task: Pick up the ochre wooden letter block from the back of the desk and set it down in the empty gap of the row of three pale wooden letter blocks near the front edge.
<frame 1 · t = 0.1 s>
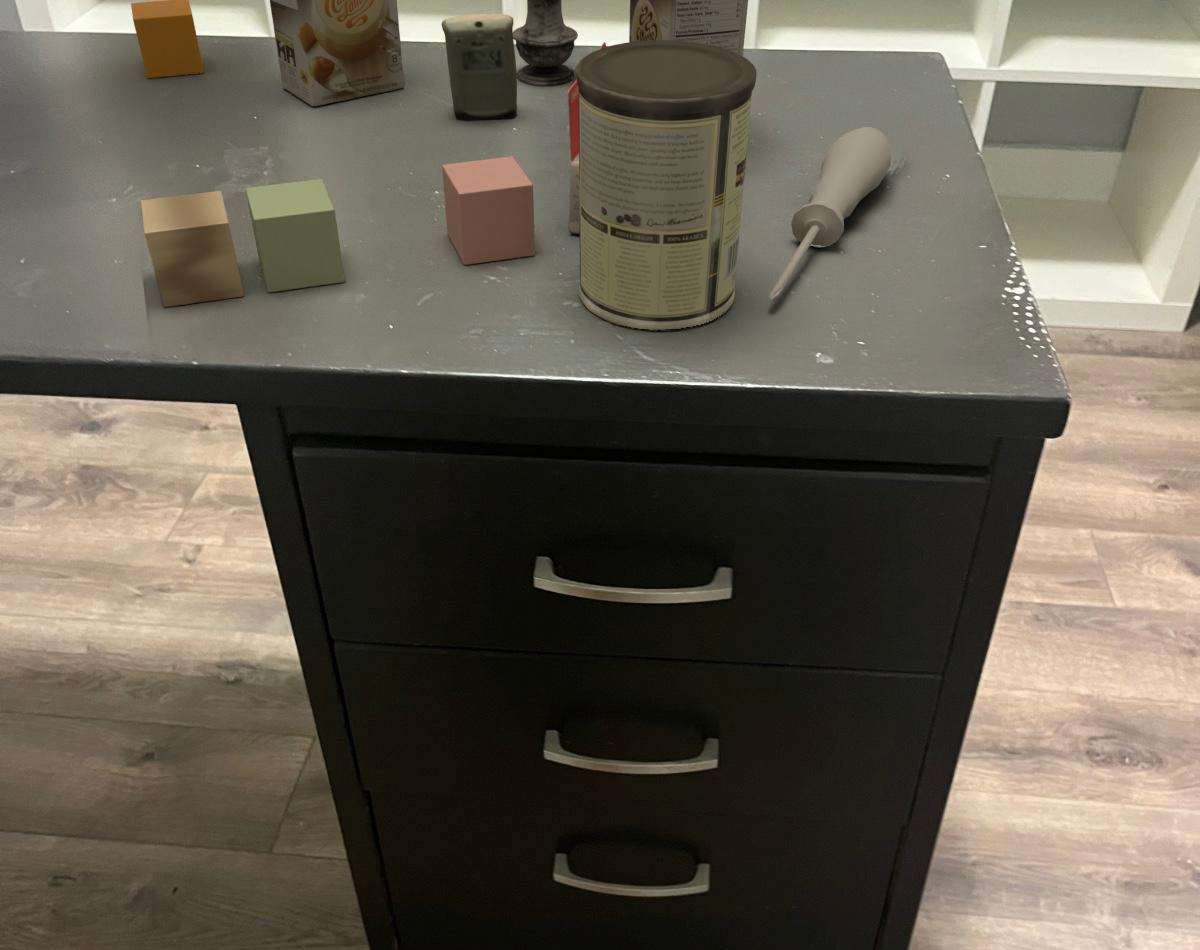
row block a: (201, 284, 77), on the table
coffee box 2: (678, 142, 96), on the table
coffee can: (655, 296, 77), on the table
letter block: (174, 67, 108), on the table
coffee box: (345, 90, 104), on the table
ink cartridge box: (601, 207, 87), on the table
row block b: (301, 270, 78), on the table
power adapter: (482, 118, 100), on the table
row block c: (490, 245, 82), on the table
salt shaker: (545, 77, 107), on the table
screwdriver: (821, 238, 83), on the table
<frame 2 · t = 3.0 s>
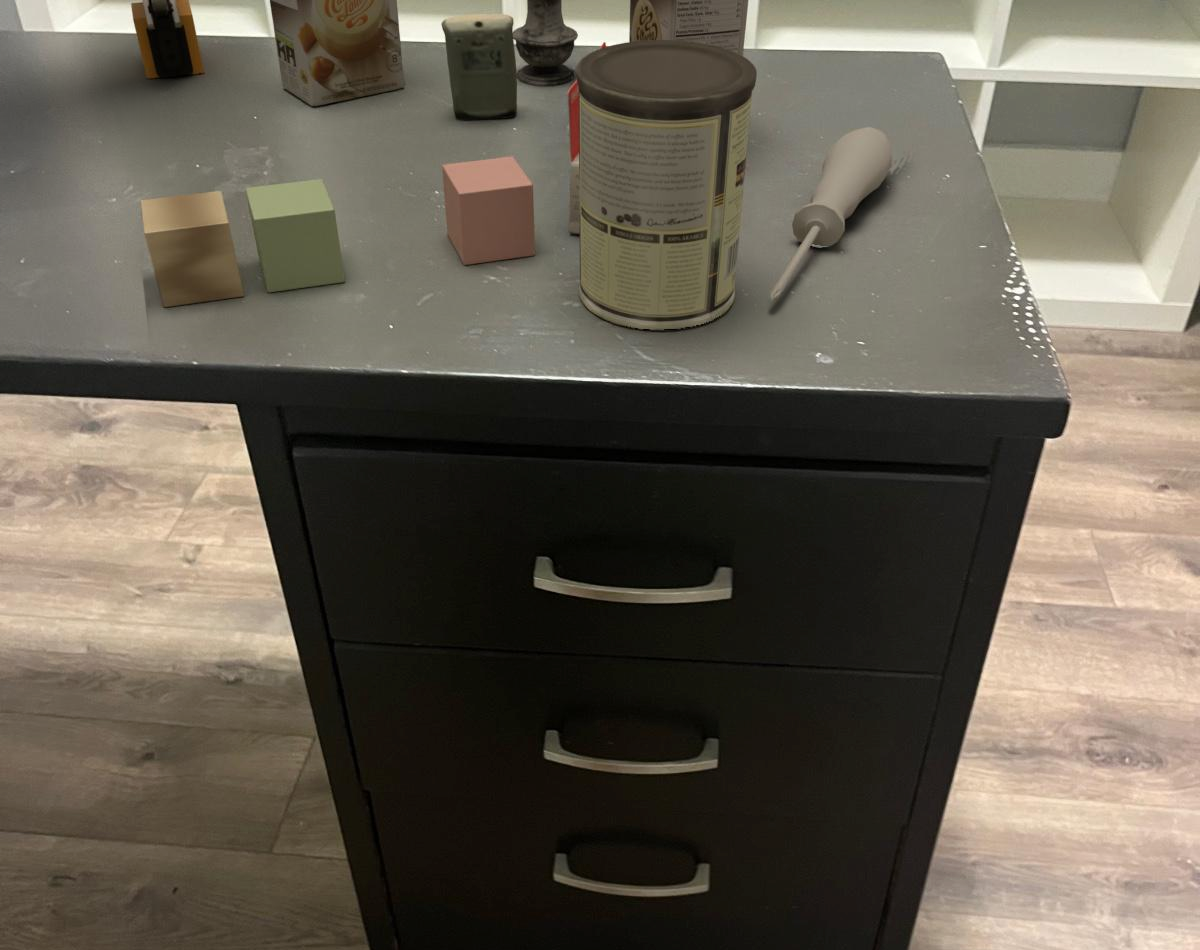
hand: (173, 62, 108), 0 cm above the table, tool pointing down, fingers closed on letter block, 5 cm apart
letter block: (174, 67, 108), on the table, touching gripper
everything else where it was.
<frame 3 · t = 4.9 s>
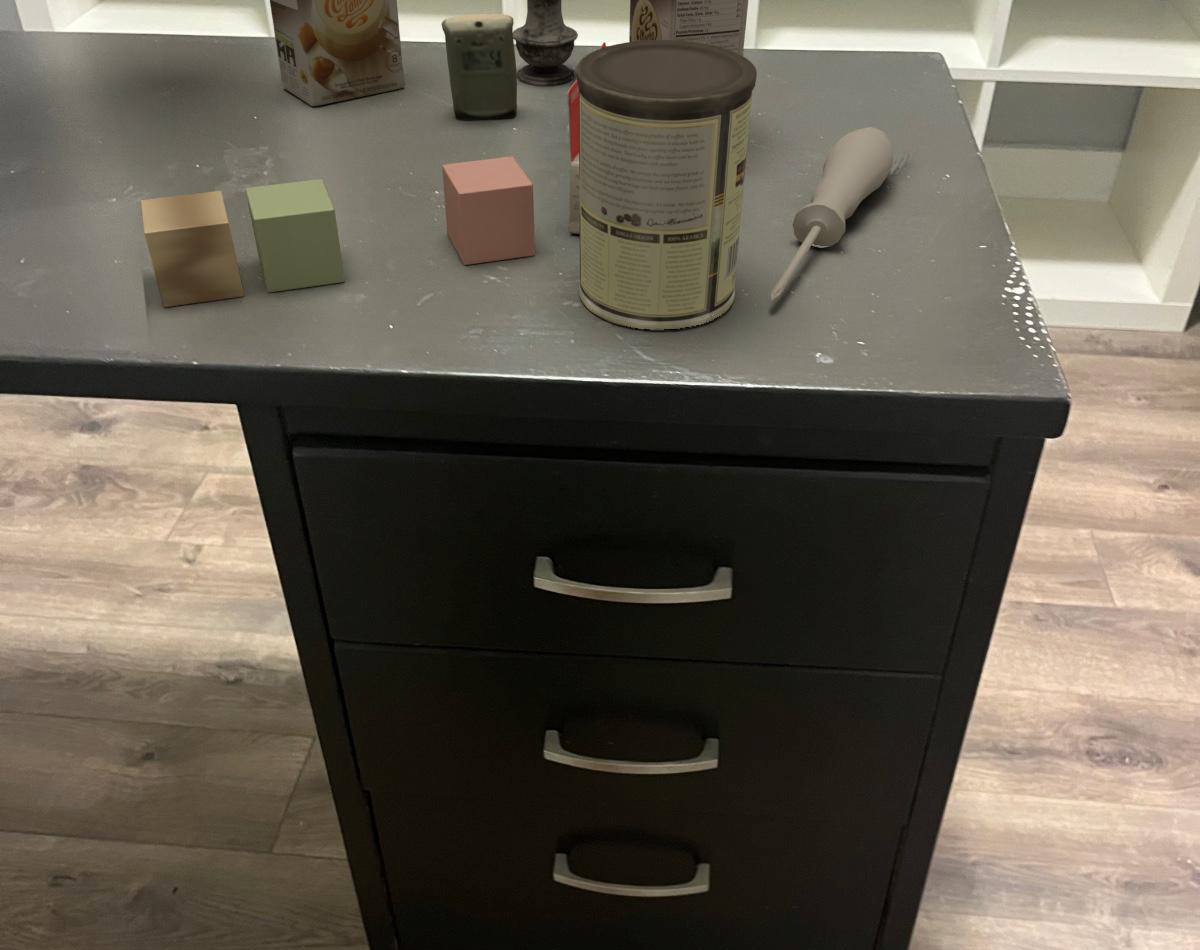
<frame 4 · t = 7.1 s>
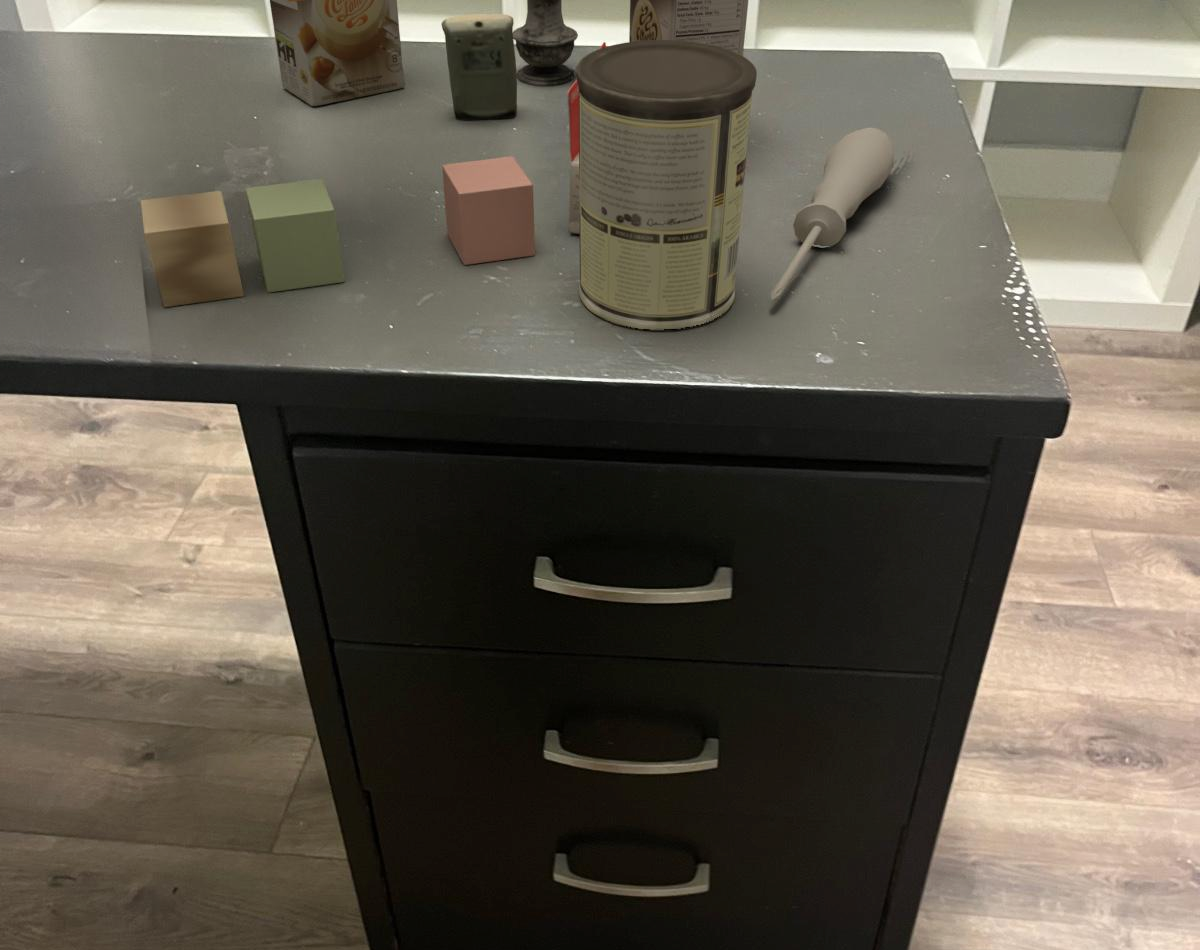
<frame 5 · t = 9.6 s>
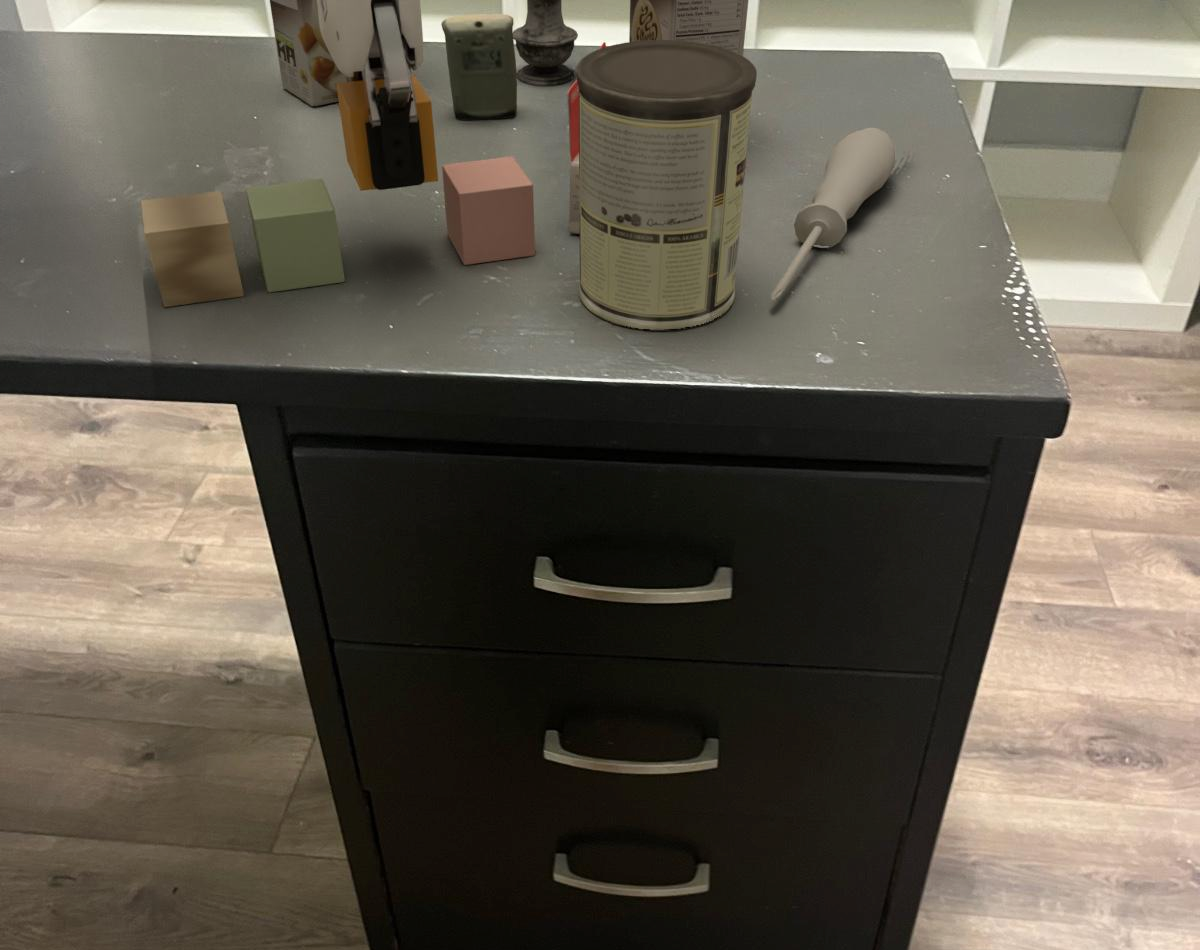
hand: (390, 165, 76), 6 cm above the table, tool pointing down, fingers closed on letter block, 5 cm apart
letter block: (392, 171, 76), point 6 cm above the table, touching gripper
everything else where it was.
when the fingers open (0 cm above the table, at t = 11.4 s): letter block stays where it is, on the table.
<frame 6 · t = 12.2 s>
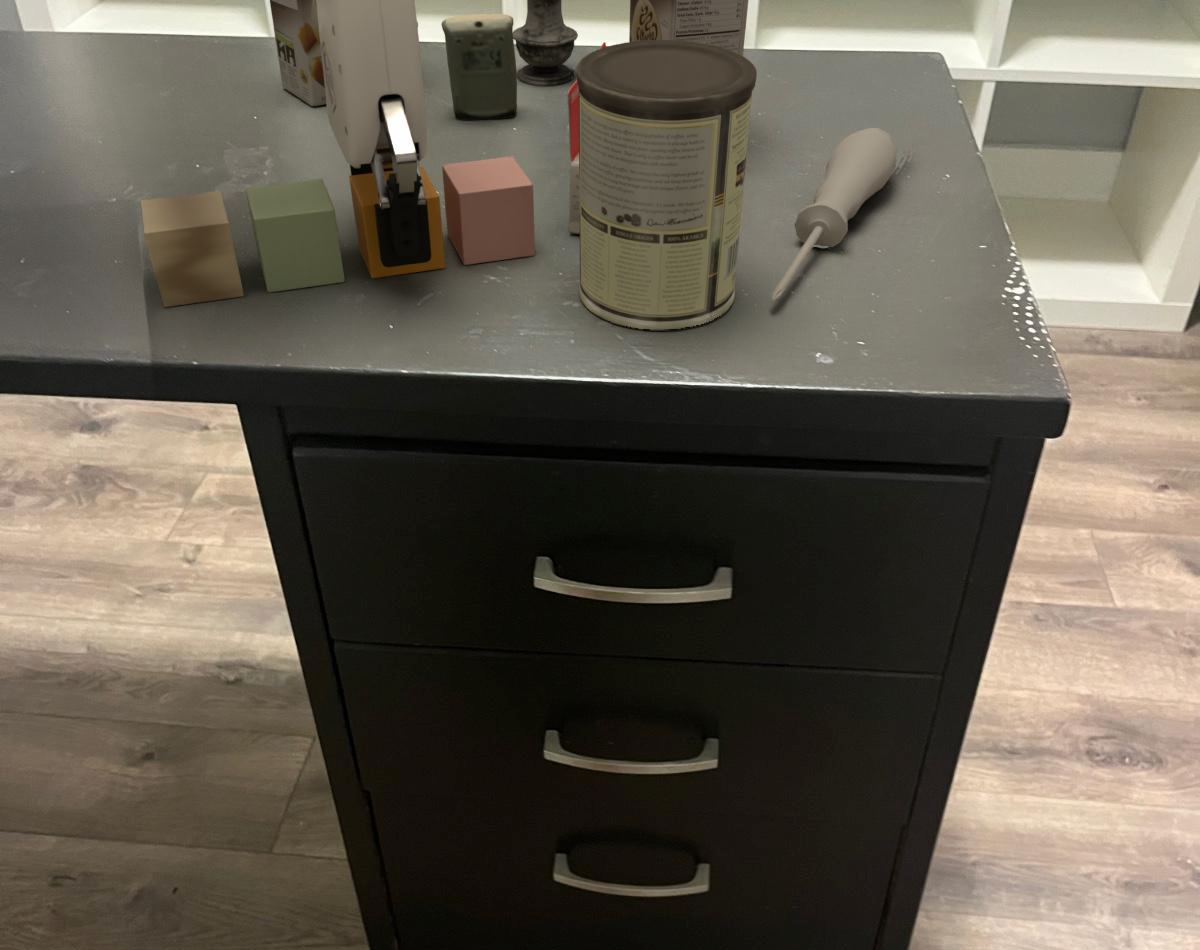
hand: (391, 230, 79), 2 cm above the table, tool pointing down, fingers open, 9 cm apart
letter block: (401, 257, 80), on the table
everything else where it was.
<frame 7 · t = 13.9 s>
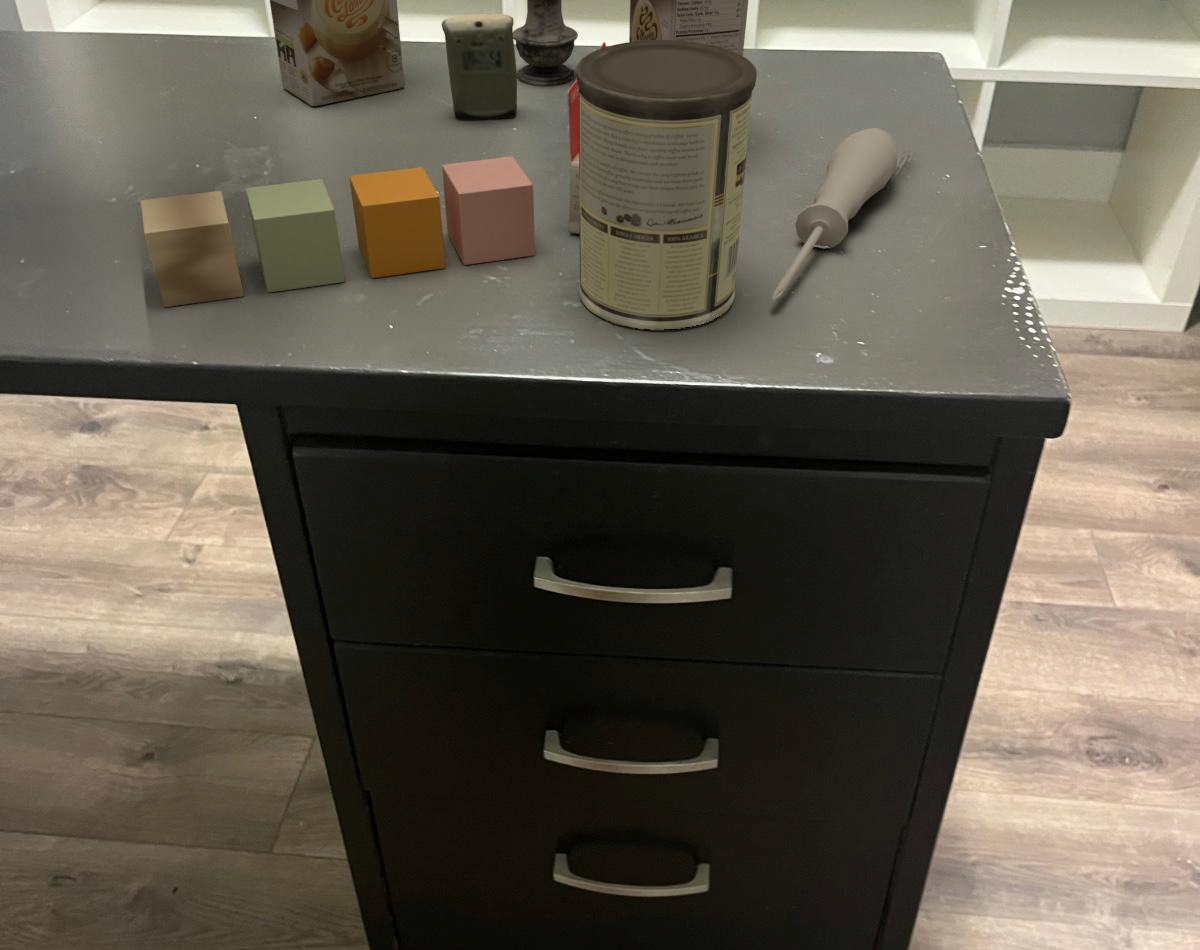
nothing on the table moved.
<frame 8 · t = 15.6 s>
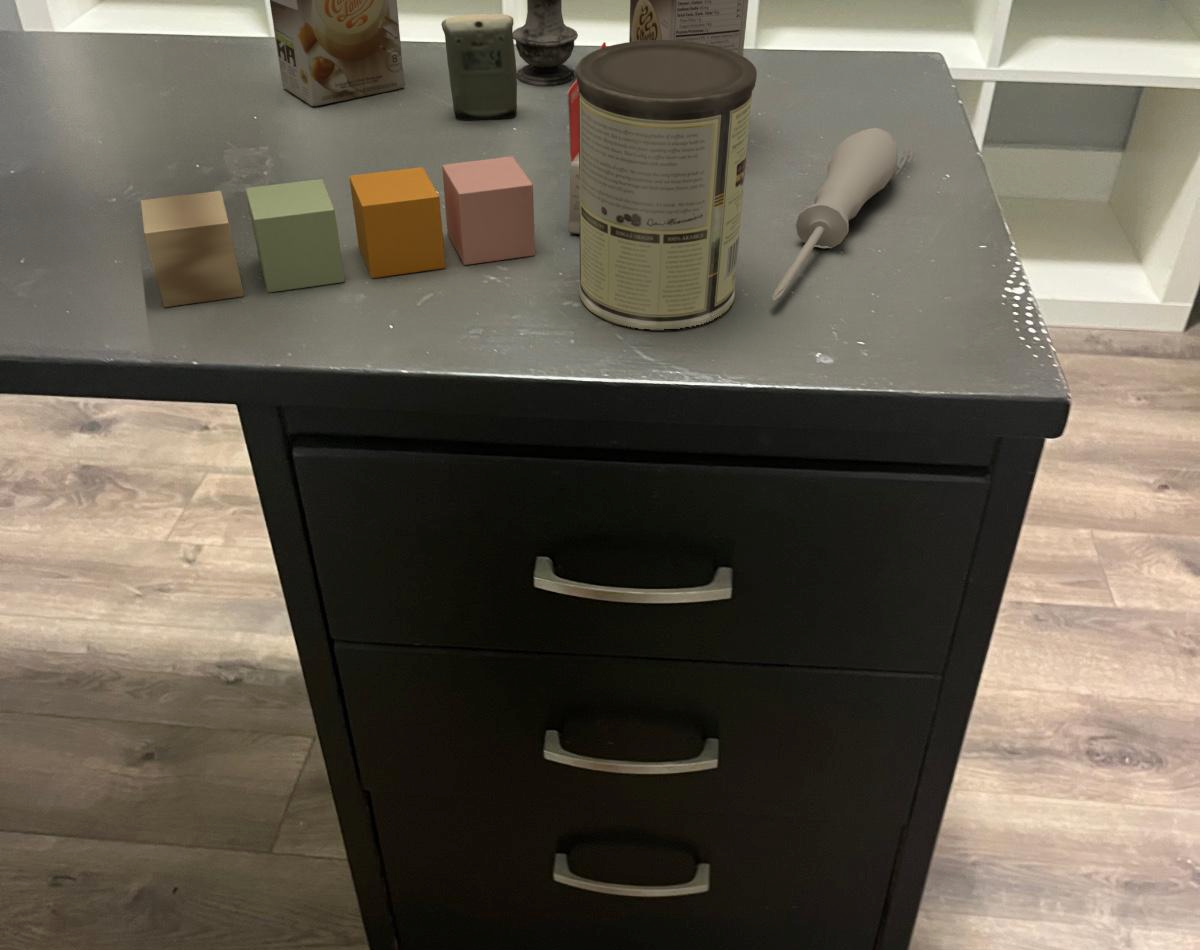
nothing on the table moved.
at the end: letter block 0.2 cm from the target spot, on the table; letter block tilted 0°; row block c moved 0.0 cm from its start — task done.
